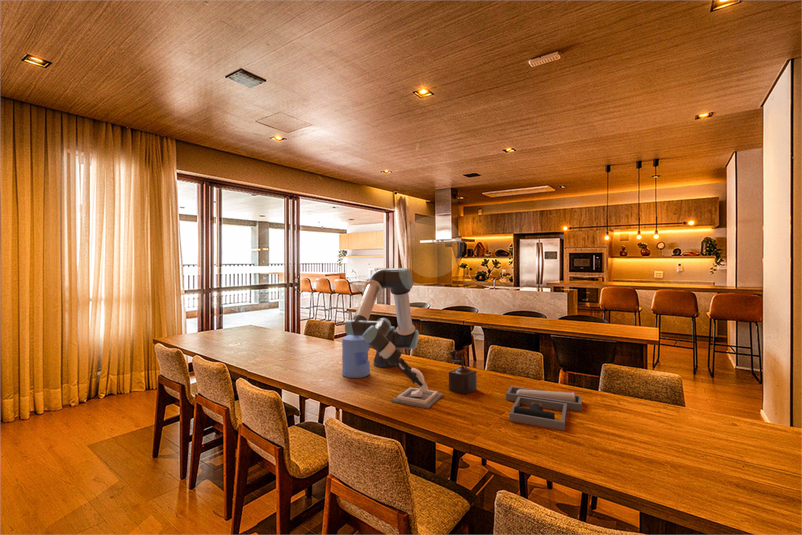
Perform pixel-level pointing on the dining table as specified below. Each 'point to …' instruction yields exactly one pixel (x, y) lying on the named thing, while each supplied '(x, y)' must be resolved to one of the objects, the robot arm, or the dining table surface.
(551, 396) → the tube
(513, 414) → the connector rest frame
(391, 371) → the dining table surface
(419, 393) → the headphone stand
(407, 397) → the coaster board
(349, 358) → the water jug
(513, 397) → the tube rest frame
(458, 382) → the pepper mill
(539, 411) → the pipe connector
